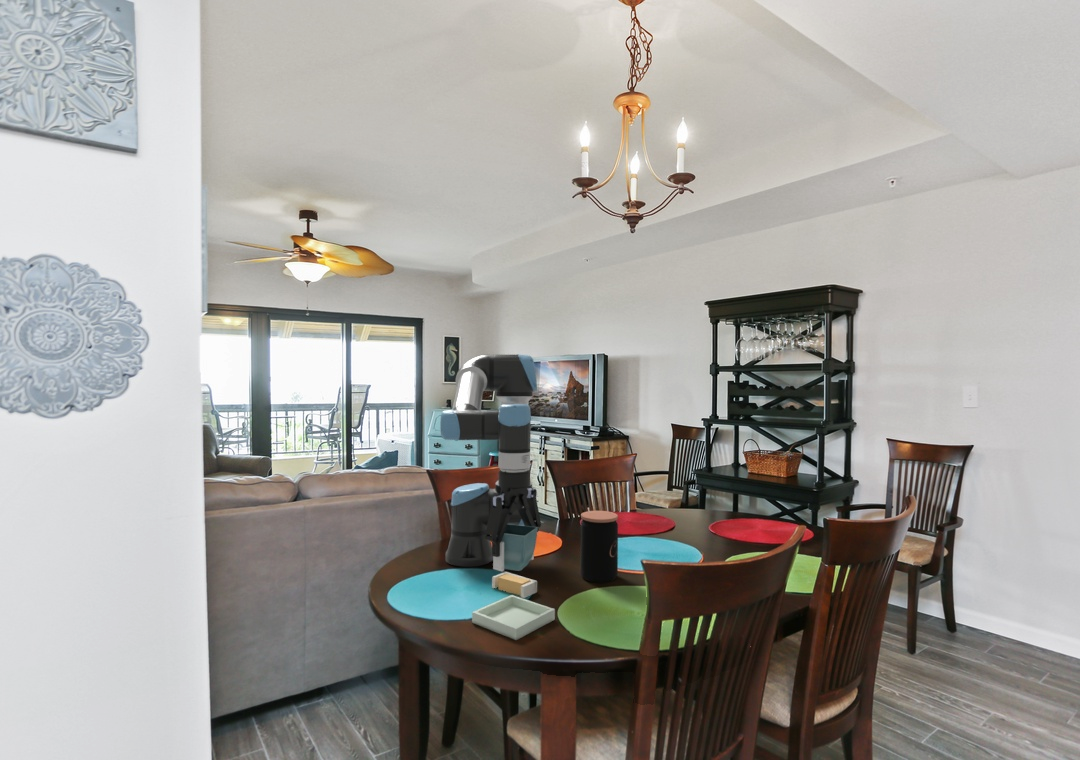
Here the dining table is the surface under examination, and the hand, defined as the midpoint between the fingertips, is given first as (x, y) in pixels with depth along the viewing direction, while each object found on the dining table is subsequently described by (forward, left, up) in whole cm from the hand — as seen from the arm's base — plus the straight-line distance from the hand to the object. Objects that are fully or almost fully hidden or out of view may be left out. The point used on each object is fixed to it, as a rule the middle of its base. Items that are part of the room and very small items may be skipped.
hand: (514, 564), depth 134 cm
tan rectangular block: (-13, +14, -14) cm, 24 cm away
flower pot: (0, 0, -1) cm, 1 cm away
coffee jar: (-1, +38, -14) cm, 40 cm away
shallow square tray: (0, 0, -13) cm, 13 cm away
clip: (-13, +15, -13) cm, 24 cm away
